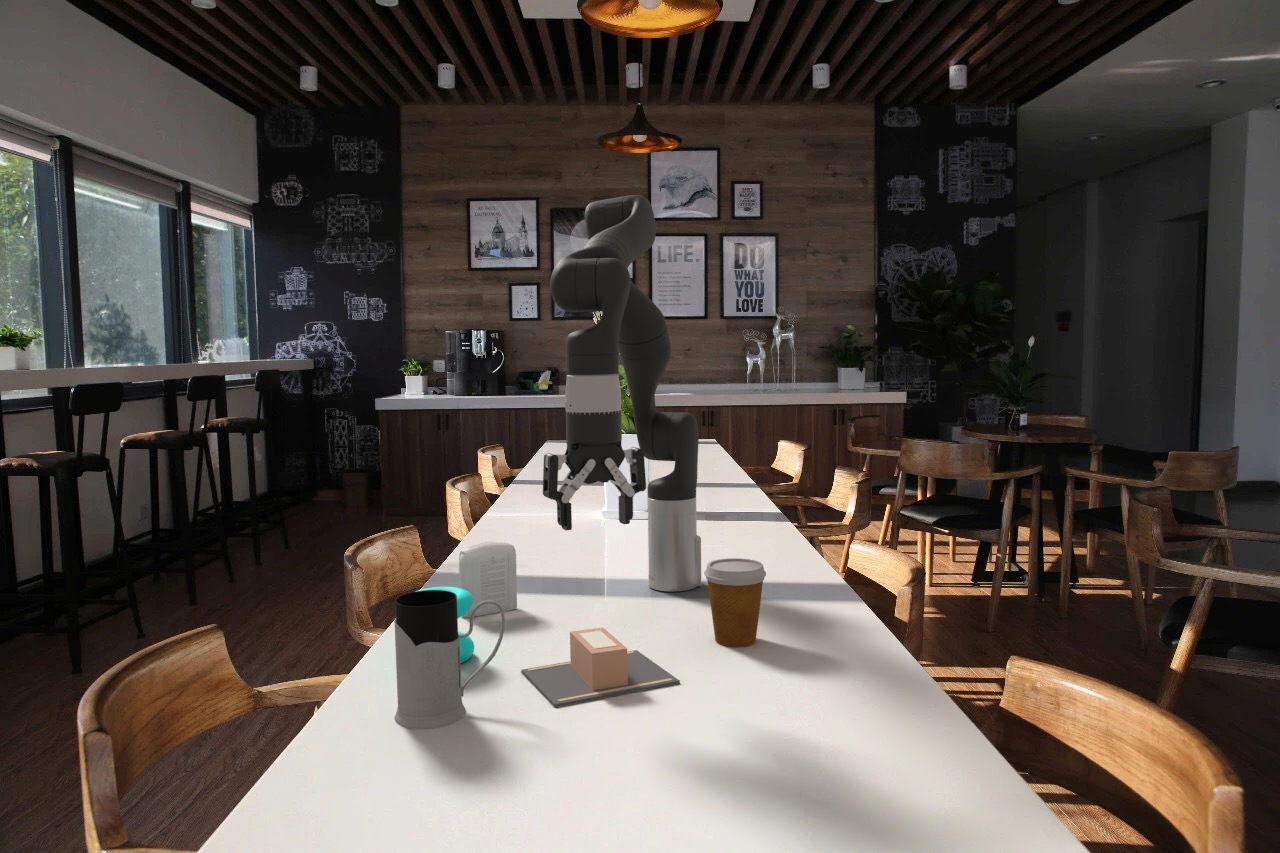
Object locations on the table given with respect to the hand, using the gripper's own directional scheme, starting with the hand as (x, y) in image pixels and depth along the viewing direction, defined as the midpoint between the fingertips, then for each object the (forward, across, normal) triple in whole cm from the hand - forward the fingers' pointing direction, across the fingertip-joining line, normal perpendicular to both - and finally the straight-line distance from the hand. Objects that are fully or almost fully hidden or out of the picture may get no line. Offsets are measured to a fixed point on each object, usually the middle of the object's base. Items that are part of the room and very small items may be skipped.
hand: (596, 526), depth 124 cm
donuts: (+22, -18, +18) cm, 33 cm away
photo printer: (+22, -5, +38) cm, 44 cm away
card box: (+21, 0, 0) cm, 21 cm away
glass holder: (+22, -21, -2) cm, 30 cm away
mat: (+21, 0, 0) cm, 21 cm away
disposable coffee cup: (+22, +25, +5) cm, 33 cm away
